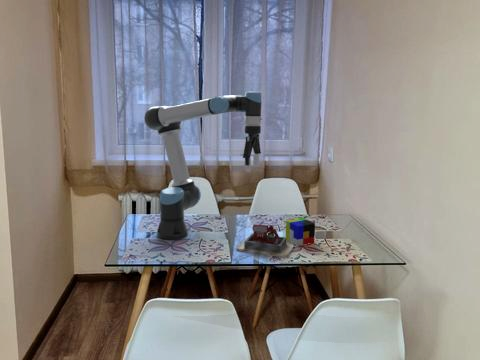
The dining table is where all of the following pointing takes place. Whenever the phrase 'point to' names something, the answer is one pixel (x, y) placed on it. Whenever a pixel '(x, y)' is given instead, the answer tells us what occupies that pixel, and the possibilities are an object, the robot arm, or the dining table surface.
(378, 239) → the dining table surface
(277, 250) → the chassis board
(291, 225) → the puzzle toy
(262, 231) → the toy fire truck
